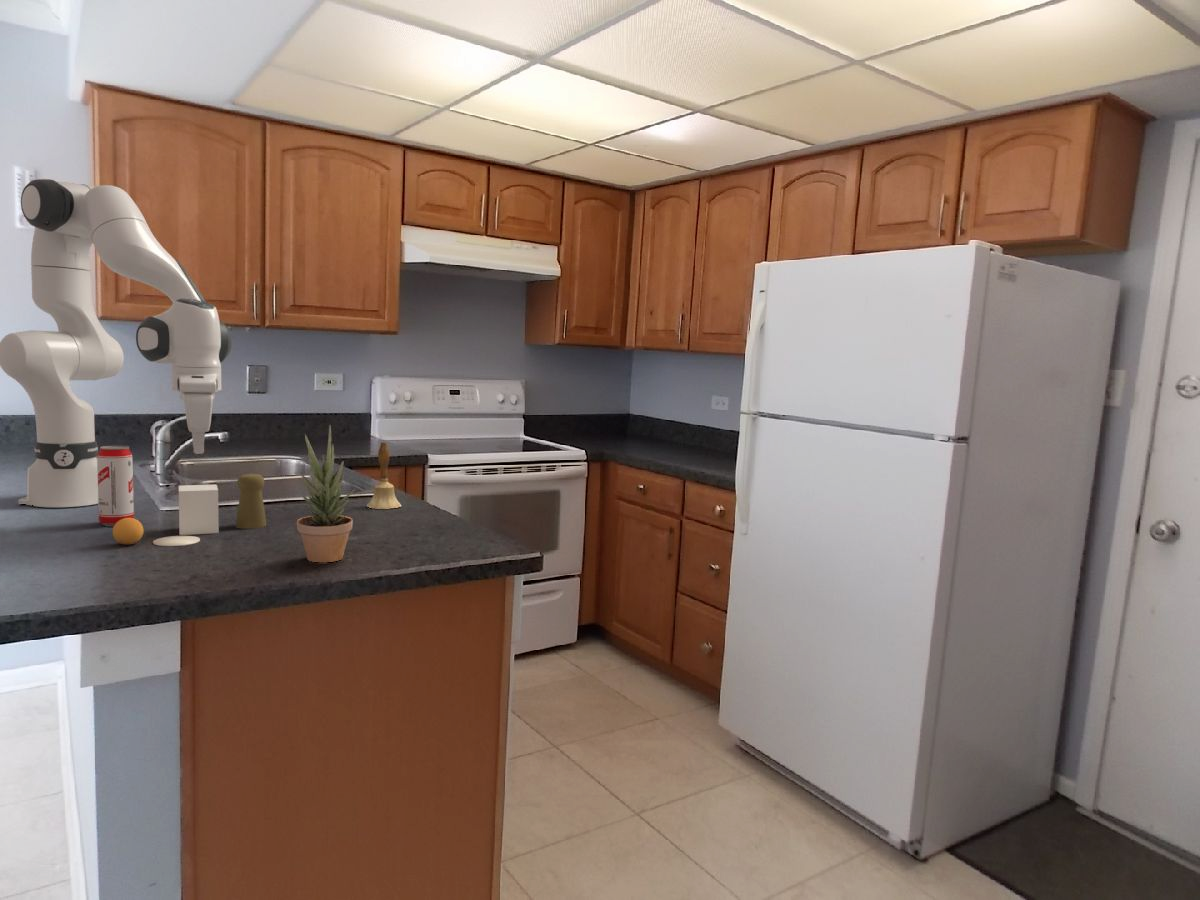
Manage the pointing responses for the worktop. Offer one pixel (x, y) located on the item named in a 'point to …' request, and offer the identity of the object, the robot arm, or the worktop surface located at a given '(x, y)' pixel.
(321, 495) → the potted plant
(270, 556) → the worktop surface
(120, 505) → the beer can
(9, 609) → the worktop surface
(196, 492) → the cream cube
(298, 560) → the worktop surface
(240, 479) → the cork
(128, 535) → the ball
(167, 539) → the cream domed disc
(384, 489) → the hand bell
